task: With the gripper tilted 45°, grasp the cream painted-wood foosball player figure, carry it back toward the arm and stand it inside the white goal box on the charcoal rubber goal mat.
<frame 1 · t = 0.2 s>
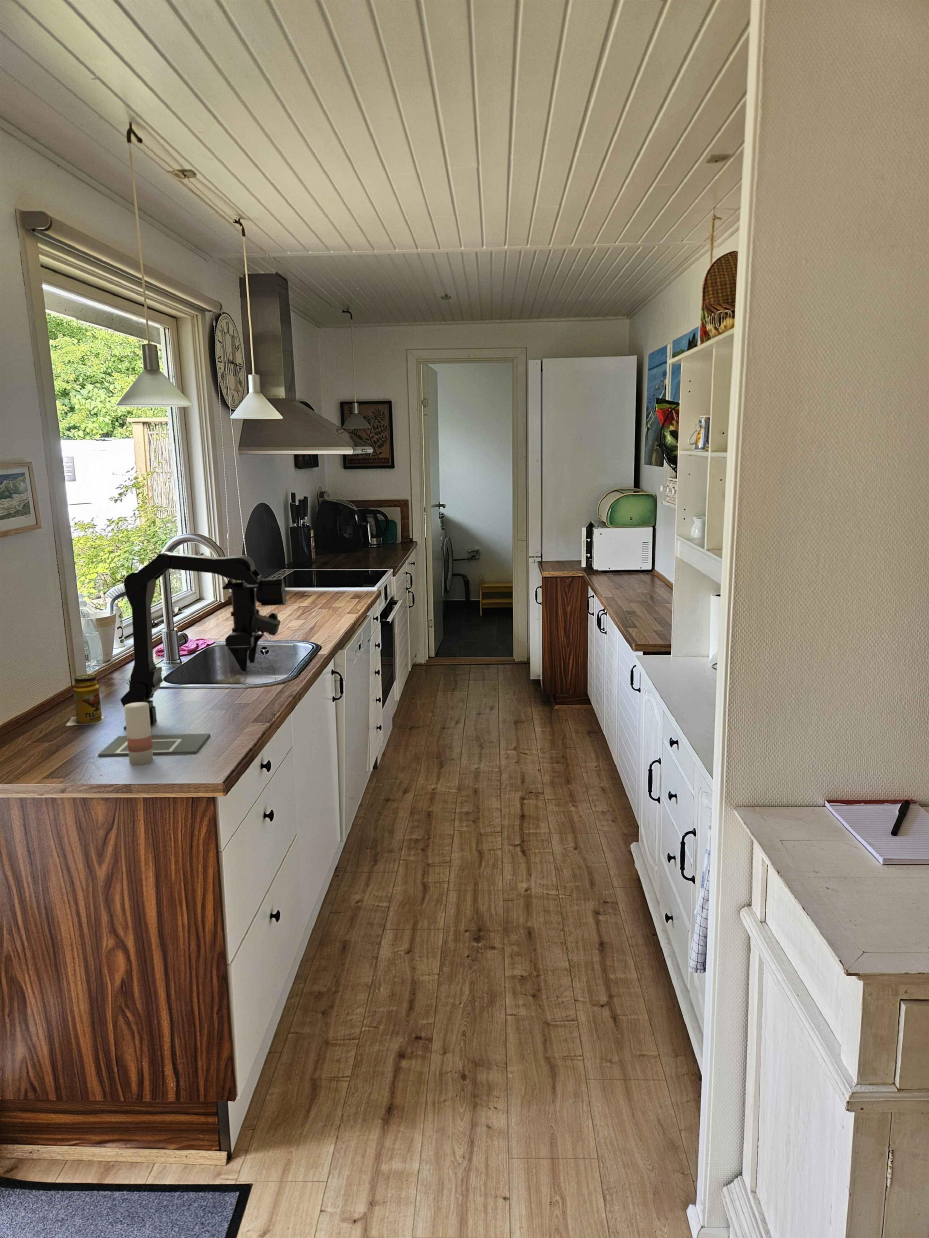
hand: (248, 667, 211), 15 cm above the countertop, tool pointing down, fingers open, 9 cm apart
player figure: (141, 761, 187), on the countertop
condiment: (86, 721, 218), on the countertop
goal mat: (156, 745, 197), on the countertop
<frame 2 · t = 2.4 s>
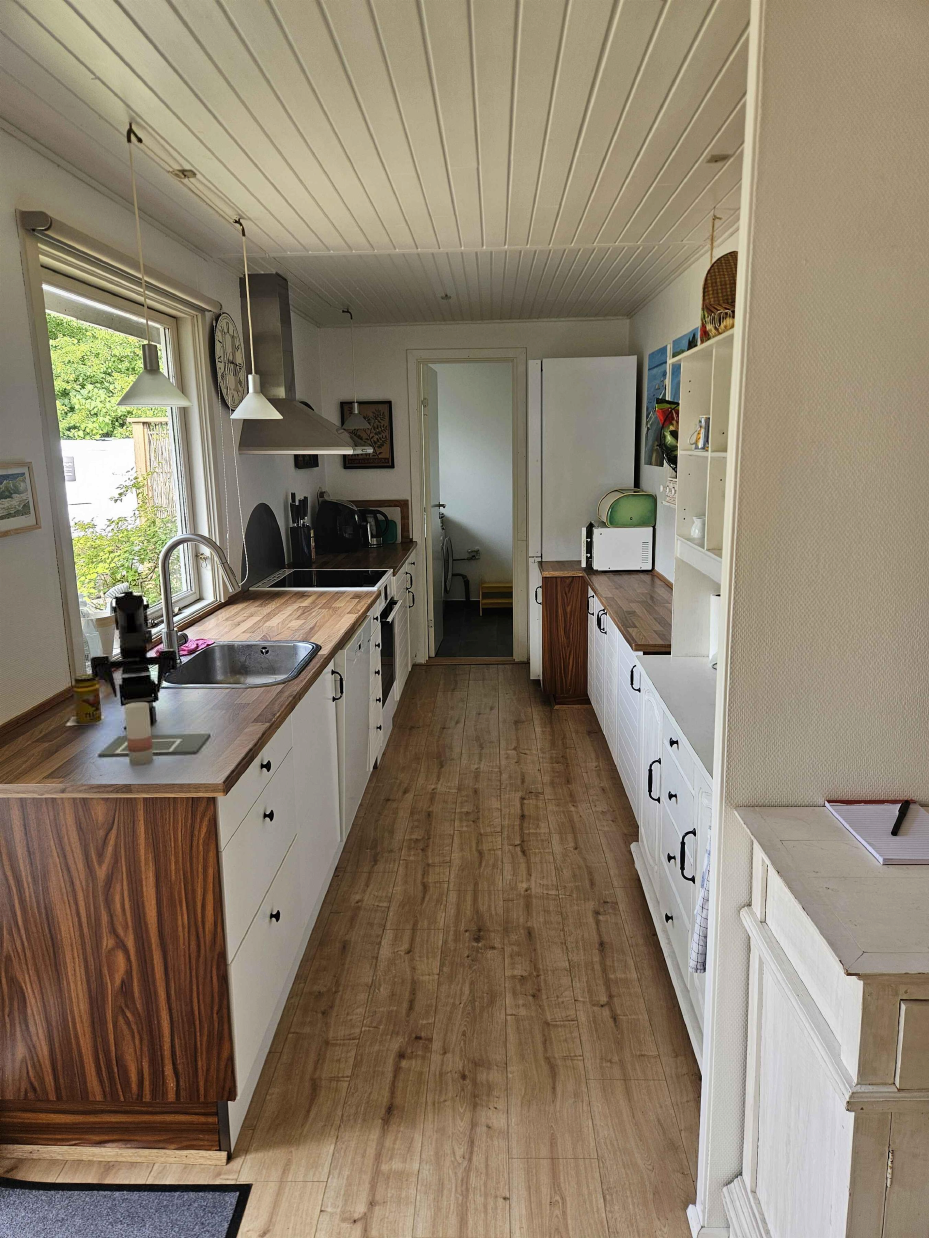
hand: (137, 694, 192), 13 cm above the countertop, tool tilted 45°, fingers open, 9 cm apart
nothing on the countertop moved.
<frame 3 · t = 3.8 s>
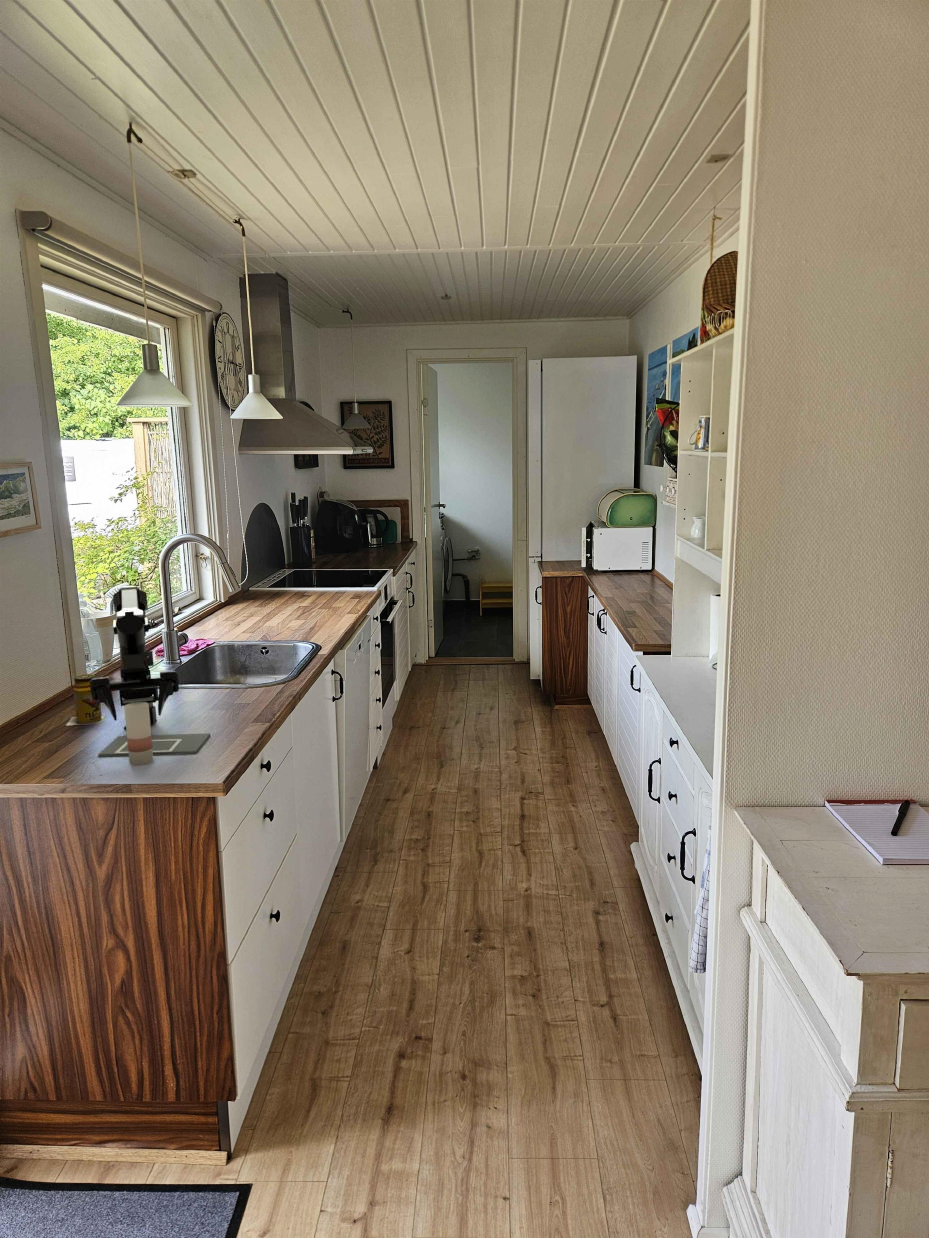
hand: (137, 717, 187), 10 cm above the countertop, tool tilted 45°, fingers open, 9 cm apart
nothing on the countertop moved.
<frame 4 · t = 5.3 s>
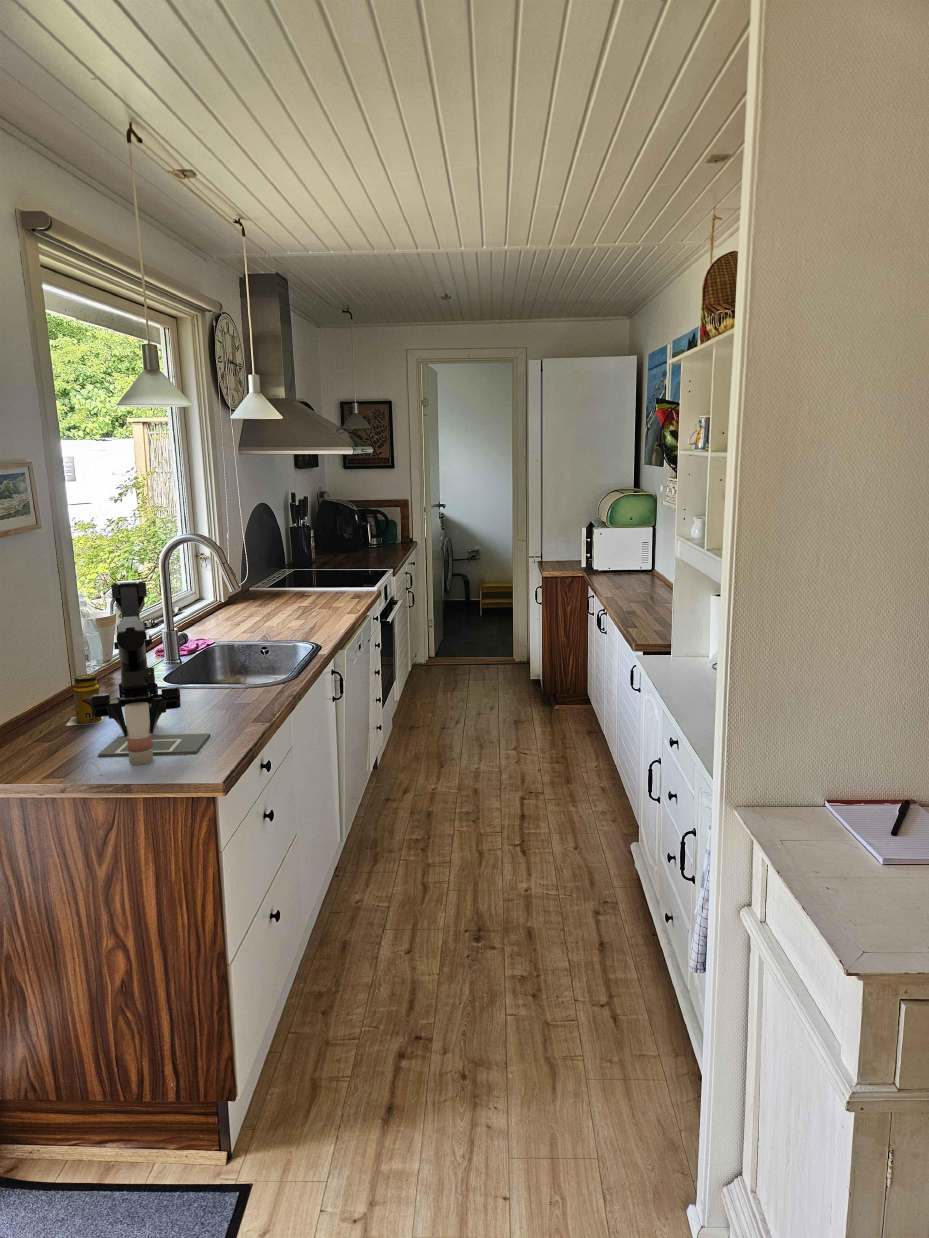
hand: (138, 734, 184), 7 cm above the countertop, tool tilted 45°, fingers closed on player figure, 5 cm apart
player figure: (141, 761, 187), on the countertop, touching gripper
everything else where it was.
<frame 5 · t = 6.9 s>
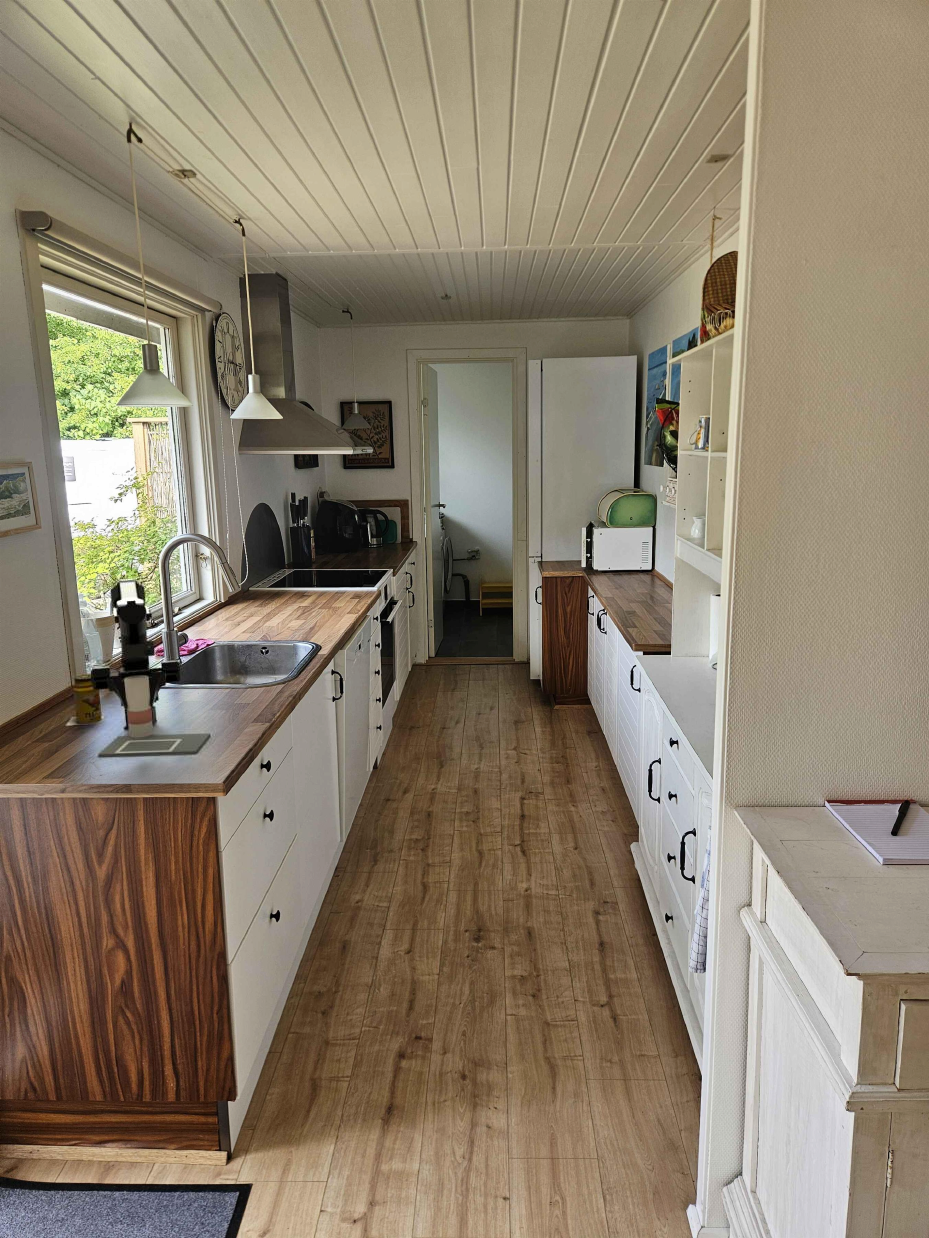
hand: (138, 707, 186), 12 cm above the countertop, tool tilted 45°, fingers closed on player figure, 5 cm apart
player figure: (141, 733, 188), point 6 cm above the countertop, touching gripper
everything else where it was.
when the fingers open (8 cm above the countertop, at t = 8.7 s): player figure drops 1 cm, resting on goal mat.
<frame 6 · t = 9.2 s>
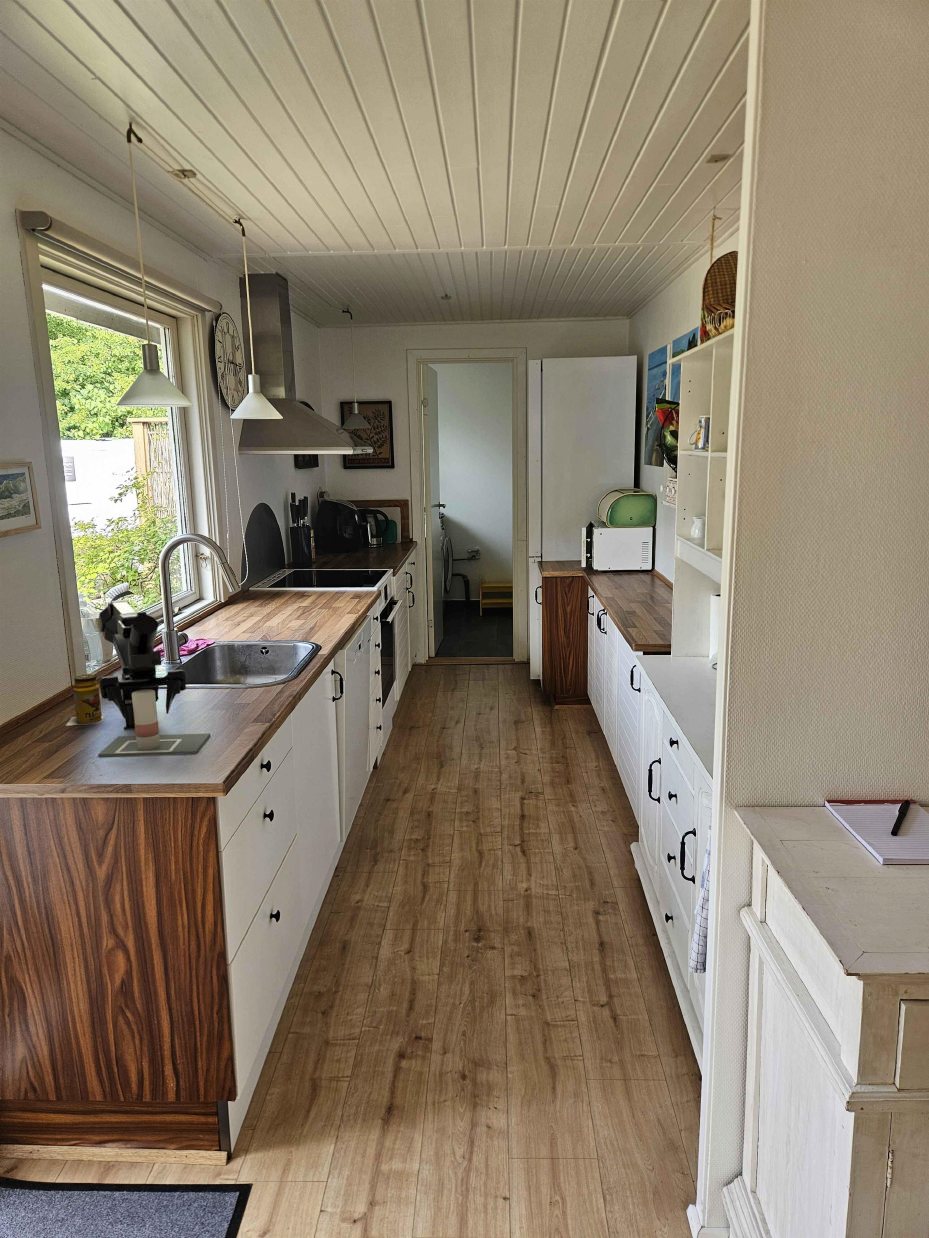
hand: (146, 715, 192), 9 cm above the countertop, tool tilted 45°, fingers open, 9 cm apart
player figure: (148, 745, 195), point 1 cm above the countertop, touching goal mat
everything else where it was.
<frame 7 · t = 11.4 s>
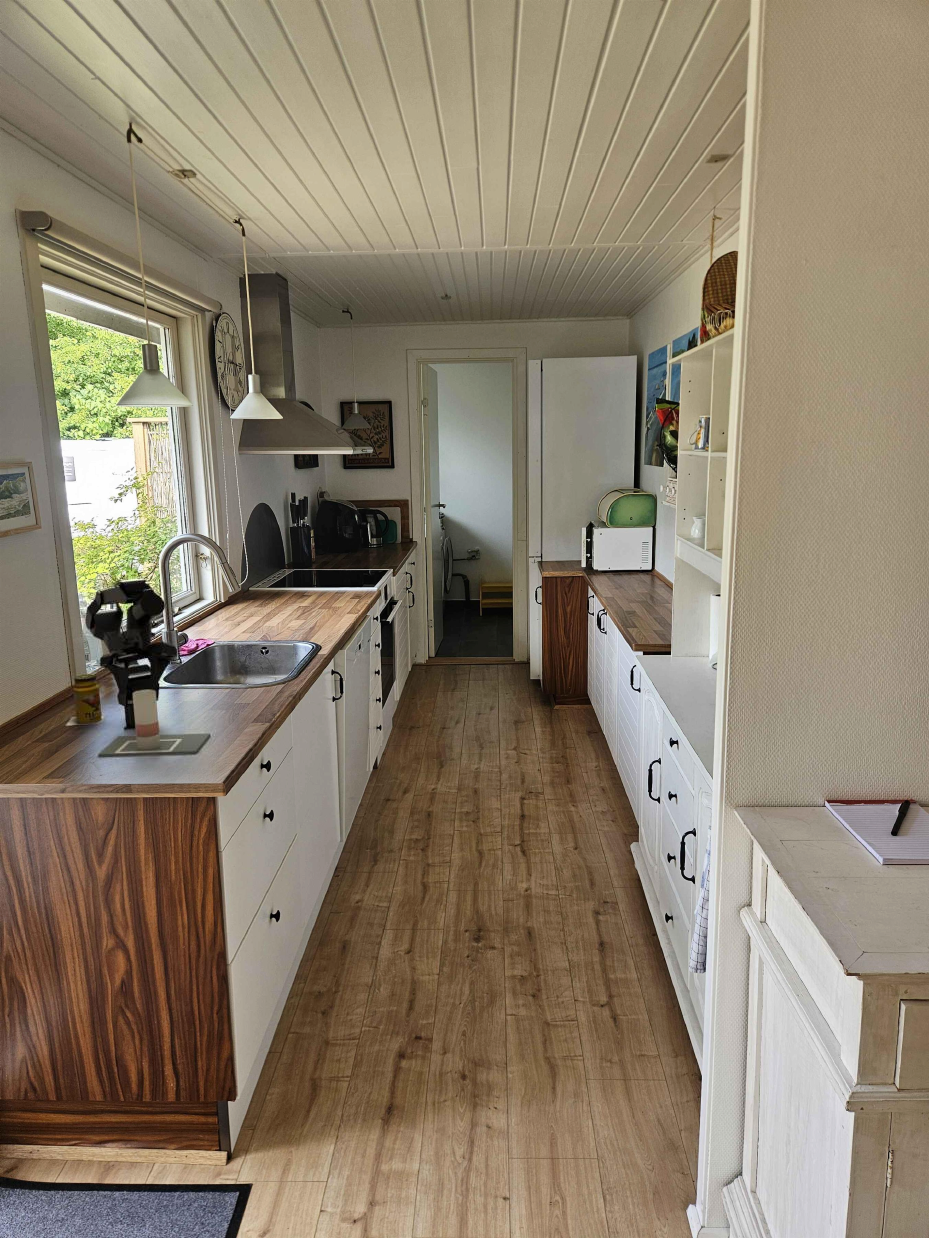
hand: (137, 691, 198), 13 cm above the countertop, tool tilted 30°, fingers open, 9 cm apart
nothing on the countertop moved.
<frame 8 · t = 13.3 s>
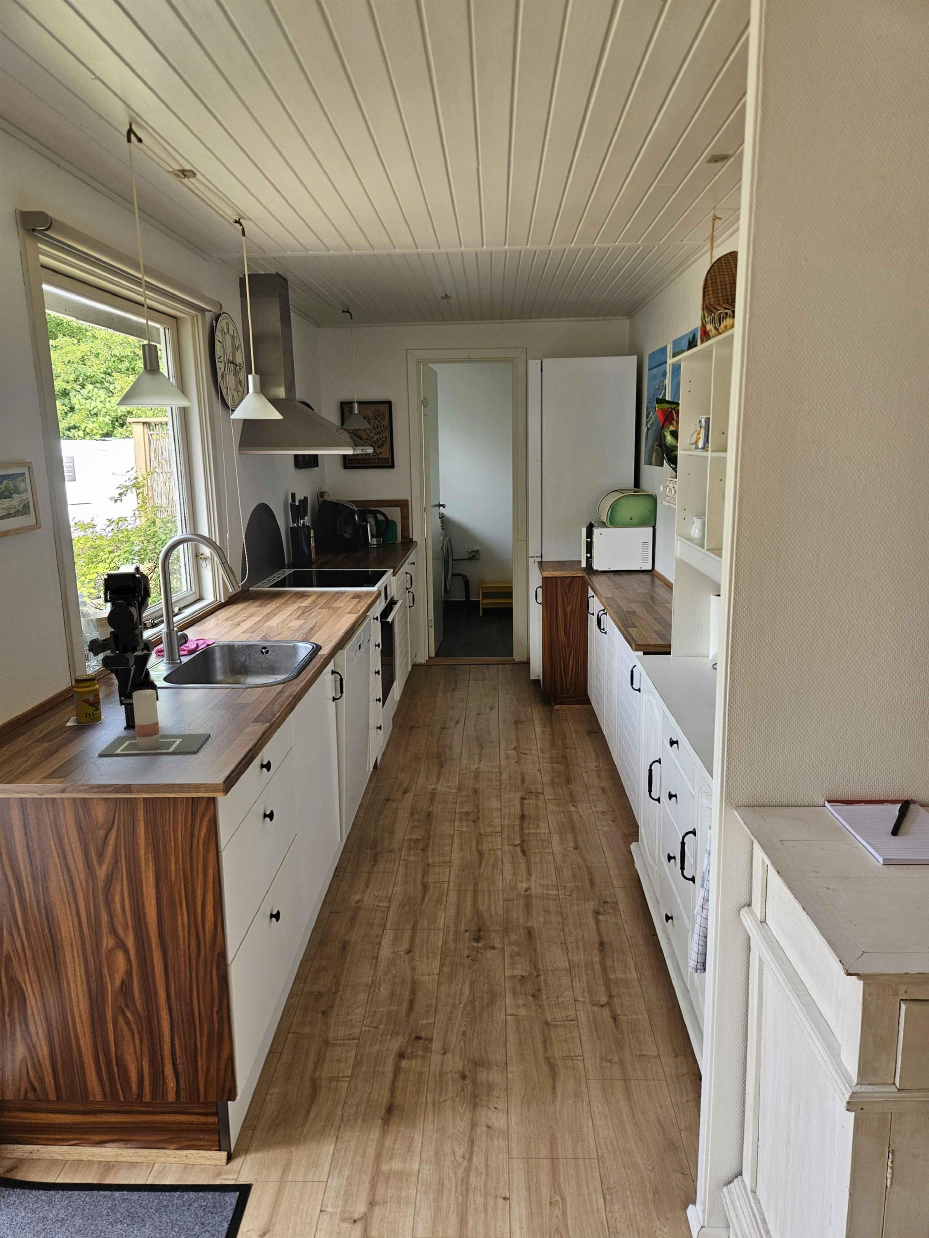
hand: (131, 688, 199), 13 cm above the countertop, tool pointing down, fingers open, 9 cm apart
nothing on the countertop moved.
at the end: player figure inside the target area (0.4 cm from its centre), point 0.6 cm above the countertop; player figure tilted 0°; the gripper is holding nothing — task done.
